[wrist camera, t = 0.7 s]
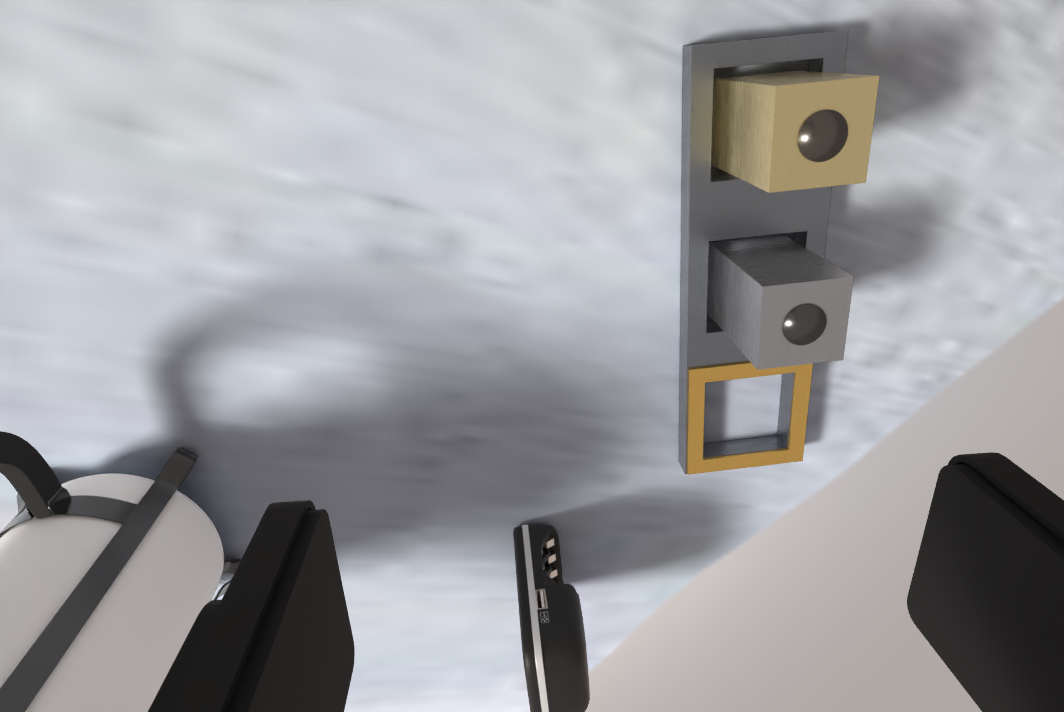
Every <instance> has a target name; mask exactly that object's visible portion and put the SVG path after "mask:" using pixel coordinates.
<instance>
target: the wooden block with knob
mask: <svg viewBox="0 0 1064 712" xmlns="http://www.w3.org/2000/svg"><path fill="white" fill-rule="evenodd" d="M878 83H879V76H876V75H860V74H843V73H827V72H811V71H789V72H778V73H768V74H758V75H748V76H738V77H728V78H718V79H714V111H713V145H712V165H713V166H715V167H717V168H719V169H721V170H723V171H725V172H727V173H729V174H731V175H733V176H735V177H737V178H739V179H742V180H744V181H746V182H748V183H750V184H752V185H754V186H756V187H758V188H760V189H762V190H764V191H766V192H768V193H771V192H781V191H790V190H800V189H810V188H819V187H829V186H838V185H848V184H857V183H866V177H867V169H868V161H869V154H870V146H871V138H872V130H873V122H874V115H875V107H876V99H877V91H878Z"/></svg>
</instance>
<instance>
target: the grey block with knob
mask: <svg viewBox="0 0 1064 712" xmlns="http://www.w3.org/2000/svg"><path fill="white" fill-rule="evenodd" d="M853 279H854V277H853V276H852V275H850V274H848V273H847V272H845V271H843V270H842V269H840V268H838V267H837V266H835V265H833V264H832V263H830V262H828V261H827V260H825V259H823V258H822V257H820V256H819V255H817V254H815V253H814V252H812V251H810V250H809V249H807V248H805V247H804V246H802V245H800V244H799V243H797V242H795V241H794V240H792V239H790V238H789V237H787V236H785V235H778V236H768V237H759V238H750V239H740V240H731V241H722V242H712V243H710V247H709V281H708V314H709V315H710V317H711V318H712V319H713V320H714V321H715V322H716V323H717V325H718V326H719V327H720V328H721V329H722V330H723V331H724V332H725V334H726V335H727V336H728V337H729V338H730V339H731V340H732V342H733V343H734V344H735V345H736V346H737V347H738V348H739V350H740V351H741V352H742V353H743V354H744V355H745V356H746V358H747V359H748V360H749V361H750V362H751V363H752V364H753V366H754V367H755V368H756V369H757V370H759V369H768V368H777V367H786V366H795V365H803V364H812V363H821V362H830V361H838V360H843V357H844V349H845V342H846V334H847V326H848V318H849V311H850V303H851V295H852V287H853Z"/></svg>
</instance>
